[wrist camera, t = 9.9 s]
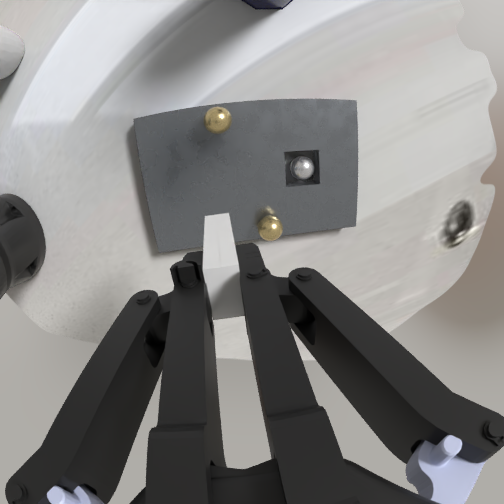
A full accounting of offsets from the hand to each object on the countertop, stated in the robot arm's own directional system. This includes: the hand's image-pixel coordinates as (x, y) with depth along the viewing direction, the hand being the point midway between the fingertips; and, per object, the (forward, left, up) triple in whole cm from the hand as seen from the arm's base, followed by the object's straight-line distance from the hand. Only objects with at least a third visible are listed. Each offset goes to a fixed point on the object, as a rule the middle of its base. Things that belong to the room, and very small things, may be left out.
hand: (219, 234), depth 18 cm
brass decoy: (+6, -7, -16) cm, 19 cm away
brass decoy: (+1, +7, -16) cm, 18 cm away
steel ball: (+11, 0, -19) cm, 22 cm away
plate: (+5, 0, -20) cm, 21 cm away
